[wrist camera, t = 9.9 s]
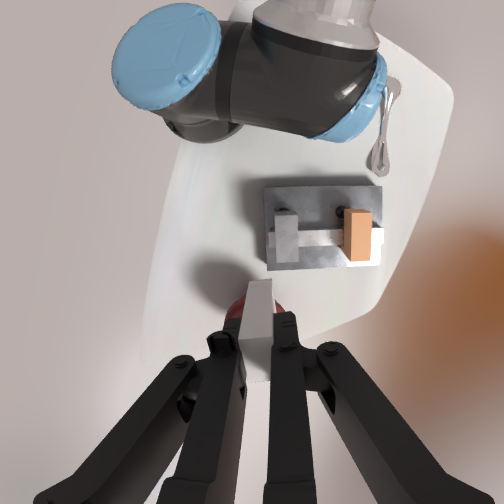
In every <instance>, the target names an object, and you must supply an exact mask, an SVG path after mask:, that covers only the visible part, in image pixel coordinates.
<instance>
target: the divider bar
mask: <svg viewBox="0 0 504 504" xmlns="http://www.w3.org/2000/svg"><path fill="white" fill-rule="evenodd" d="M274 219H275V229H269V230H268V236H269V248H276V259H277V263H285V262H299V247H305V246H327V245H344V226H343V227H315V228H298V215H297V213H296V212H295V211H286V210H282V211H279V212H274ZM383 232H384V228H383V227H381V226H379V225H378V226H372V241H371V244H373V243H383Z"/></svg>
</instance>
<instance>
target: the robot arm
mask: <svg viewBox="0 0 504 504" xmlns="http://www.w3.org/2000/svg"><path fill="white" fill-rule="evenodd" d="M375 1H376V0H268V1H266V2H265V3H263V4H262V5H260V6H259V7H257V8H256V9H255V10H254V11H253V19H252V23H246V22H234V21H218V20H217V18H216V17H215V16H214V15H213V14H212V13H211V12H208V11H207V10H205V9H204V8H203V7H201V6H198V5H195V4H189V3H176V4H170V5H166V6H163V7H161V8H158V9H155V10H153V11H151V12H149V13H148V14H146V15H145V16H143V17H142V18H141V19H140V20H139V21H138V22H137V23H136V24H135V25H133V26H132V27H130V29H129V30H128V31H127V32H126V33H125V34H124V36H123V37H122V39H121V40H120V42H119V44H118V46H117V48H116V50H115V53H114V57H113V60H112V79H113V83H114V85H115V87H116V89H117V90H118V92H119V93H120V95H121V96H122V97H124V98H125V99H126V100H128V101H129V102H130V103H132V104H133V105H134V106H136V107H137V108H139V109H143V110H148V111H150V112H153V113H155V114H157V115H159V116H162V117H163V119H164V121H165V123H166V125H167V126H168V127H169V128H170V129H171V131H173V132H174V133H175V134H176V135H178V136H179V137H181V138H183V139H185V140H188V141H191V142H195V143H203V144H206V143H214V142H218V141H222V140H224V139H226V138H228V137H230V136H232V135H233V134H235V133H236V132H237V131H238V130H240V129H241V128H242V126H243V125H244V124H245V125H251V126H257V127H262V128H268V129H273V130H278V131H283V132H288V133H292V134H297V135H301V136H304V137H305V138H308V139H314V140H315V139H321V140H326V141H330V142H335V143H343V142H347V141H350V140H352V139H354V138H355V137H357V136H358V135H359V134H360V133H361V132H362V131H363V130H364V129H365V128H366V126H367V125H368V124H369V122H370V121H371V119H372V118H373V116H374V114H375V113H376V111H377V109H378V107H379V104H380V102H381V99H382V94H381V91H382V90H383V88H384V87H385V86H386V80H387V65H386V62H385V60H384V58H383V57H382V56H381V55H380V54H379V53H378V52H377V49H378V47H379V43H380V41H379V39H378V37H377V35H376V33H375V32H374V30H373V28H372V27H371V25H370V22H369V20H370V17H371V14H372V11H373V7H374V4H375ZM207 343H208V346H209V349H210V352H211V353H210V357H208V358H205V359H202V360H198V361H195V360H194V358H193V357H192V356H189V355H180V356H177V357H175V358H173V359H172V360H171V361H170V362H169V363H168V364H167V365H166V366H165V367H164V369H163V370H162V371H161V372H160V374H159V375H158V376H157V377H156V378H155V379H154V380H153V382H152V383H151V384H150V385H149V386H148V388H147V389H146V390H145V391H144V392H143V393H142V395H141V396H140V397H139V398H138V399H137V400H136V402H135V403H134V404H133V405H132V406H131V408H130V409H129V410H128V411H127V412H126V413H125V415H124V416H123V417H122V418H121V419H120V420H119V422H118V423H117V424H116V425H115V426H114V427H113V429H112V430H111V431H110V432H109V433H108V434H107V436H106V437H105V438H104V439H103V440H102V441H101V443H100V444H99V445H98V446H97V447H96V448H95V450H94V451H93V452H92V453H91V454H90V455H89V457H88V458H87V459H86V460H85V461H84V462H83V463H82V465H81V466H80V467H79V468H78V469H77V470H76V472H75V473H74V474H73V475H72V476H70V477H68V478H66V479H65V480H63V481H61V482H59V483H57V484H56V485H54V486H52V487H50V488H48V489H46V490H44V491H42V492H41V493H39V494H38V495H36V497H35V498H34V501H33V504H144V502H145V501H146V499H147V498H148V496H149V495H150V493H151V492H152V490H153V489H154V487H155V486H156V484H157V483H158V481H159V480H160V478H161V476H162V475H163V473H164V472H165V470H166V469H167V467H168V466H169V464H170V463H171V461H172V459H173V458H174V456H175V455H176V453H177V452H178V450H179V448H180V447H181V445H182V444H183V446H182V450H181V453H180V456H179V460H178V463H177V467H176V470H175V473H174V475H173V476H172V477H169V478H166V479H165V480H164V482H163V484H162V487H161V490H160V493H159V496H158V500H157V503H156V504H234V500H235V492H236V484H237V475H238V466H239V459H240V450H241V441H242V432H243V423H244V415H245V406H246V397H247V386H246V376H247V380H248V382H262V381H270V417H269V444H268V446H269V447H268V468H267V482H266V484H265V486H264V493H263V504H317V497H316V485H315V479H314V469H313V457H312V447H311V436H310V427H309V426H310V425H309V416H308V407H307V398H306V390H307V391H317V392H318V396H319V397H320V399H321V401H322V403H323V404H324V407H325V409H326V410H327V412H328V414H329V416H330V418H331V419H332V421H333V423H334V425H335V426H336V429H337V431H338V432H339V434H340V436H341V438H342V440H343V442H344V443H345V445H346V447H347V449H348V450H349V452H350V454H351V456H352V458H353V459H354V462H355V463H356V465H357V467H358V469H359V471H360V472H361V474H362V476H363V477H364V479H365V481H366V483H367V485H368V487H369V488H370V490H371V492H372V494H373V495H374V497H375V499H376V501H377V503H378V504H495V502H494V500H493V498H492V497H491V496H490V495H488V494H486V493H484V492H482V491H480V490H478V489H476V488H474V487H472V486H469V485H467V484H466V483H464V482H462V481H460V480H458V479H456V478H454V477H452V476H451V475H449V474H447V473H446V472H445V471H444V470H443V468H442V467H441V466H440V465H439V463H438V462H437V461H436V460H435V458H434V457H433V456H432V454H431V453H430V452H429V450H428V449H427V448H426V447H425V445H424V444H423V443H422V442H421V440H420V439H419V438H418V437H417V435H416V434H415V433H414V431H413V430H412V429H411V428H410V426H409V425H408V424H407V423H406V421H405V420H404V419H403V418H402V416H401V415H400V414H399V413H398V411H397V410H396V409H395V408H394V406H393V405H392V404H391V403H390V401H389V400H388V399H387V398H386V396H385V395H384V394H383V393H382V391H381V390H380V389H379V388H378V387H377V385H376V384H375V383H374V381H373V380H372V379H371V378H370V377H369V375H368V374H367V373H366V372H365V370H364V369H363V368H362V367H361V365H360V364H359V363H358V362H357V361H356V359H355V358H354V357H353V356H352V354H351V353H350V352H349V351H348V349H347V348H346V347H345V346H344V345H343V344H342V343H339V342H332V341H330V342H325V343H323V344H321V345H320V346H318V347H317V350H316V349H308V348H305V347H303V346H302V345H301V344H300V342H299V338H298V331H297V324H296V317H295V315H294V314H293V313H292V312H291V311H288V312H280V313H276V305H275V298H274V291H273V284H272V279H263V280H255V281H249V284H248V289H247V294H246V300H245V305H244V310H243V316H242V317H238V318H229V319H228V320H227V321H226V322H225V323H224V326H223V330H222V331H217V332H214V333H212V334H211V335H209V336H208V338H207ZM183 442H184V443H183Z"/></svg>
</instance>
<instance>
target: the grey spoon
mask: <svg viewBox="0 0 504 504" xmlns="http://www.w3.org/2000/svg"><path fill="white" fill-rule="evenodd" d="M382 92H383V95H384V98H385V113H384V117H383V120H382V123H381V126H380V132H379V136H378V138H377V141H376V142H375V144H374V147H373V151H372V158H371V165H372V170H373V172H374V173H375V174H376V175H377V176H378V177H384V176H386V175H387V174H388V172H389V167H390V163H389V153H388V146H387V140H386V133H387V123H388V116H389V112H390V109H391V106H392V104H393V102H394V101H395V100H396V98H397V97H398V96H399V95H400V94H401V92H402V84H401V82H400V80H399V79H398V78H397V77H395V76H393V75H391V74H389V73H387V80H386V86H385V87H384V88H383V90H382ZM380 142H382V143H384V147H383V162H382V163H383V164H384V167H385V169H384V170H383V171H380V170H378V168H377V164H378V163H379V157H380Z"/></svg>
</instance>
